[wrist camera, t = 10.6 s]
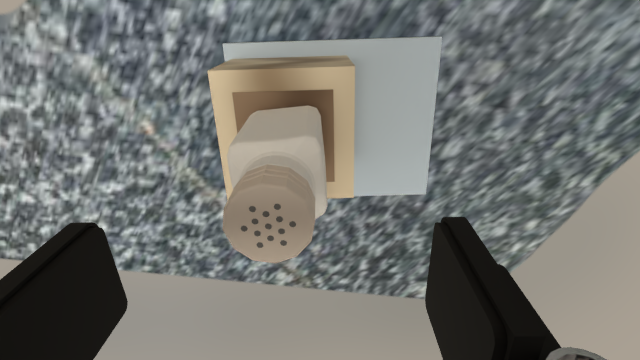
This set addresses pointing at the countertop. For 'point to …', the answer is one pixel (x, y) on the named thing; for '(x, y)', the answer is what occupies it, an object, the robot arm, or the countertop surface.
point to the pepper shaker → (276, 183)
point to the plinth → (290, 105)
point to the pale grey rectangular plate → (379, 104)
